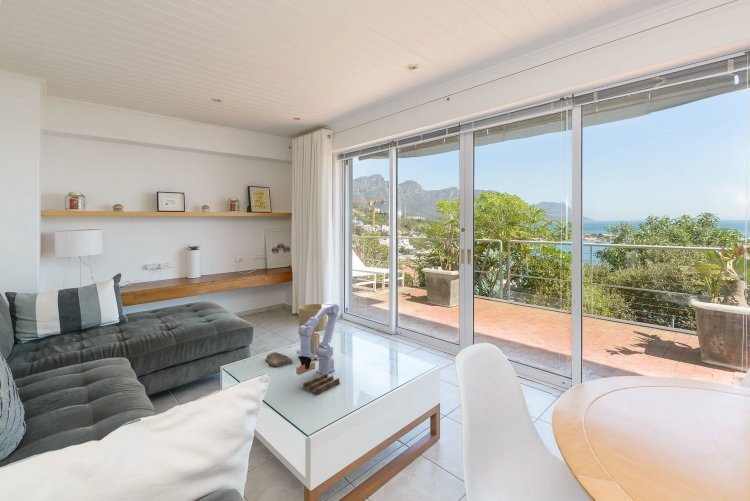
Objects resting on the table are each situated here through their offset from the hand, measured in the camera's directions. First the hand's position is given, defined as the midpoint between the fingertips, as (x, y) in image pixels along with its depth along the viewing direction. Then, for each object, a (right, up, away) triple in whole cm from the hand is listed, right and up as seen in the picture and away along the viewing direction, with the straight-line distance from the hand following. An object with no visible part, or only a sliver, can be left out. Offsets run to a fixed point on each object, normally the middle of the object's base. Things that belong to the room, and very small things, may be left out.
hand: (305, 368), depth 208 cm
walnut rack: (+10, -9, -5) cm, 14 cm away
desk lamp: (-3, -5, +42) cm, 43 cm away
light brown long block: (0, -2, 0) cm, 2 cm away
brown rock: (-25, -6, +31) cm, 41 cm away
